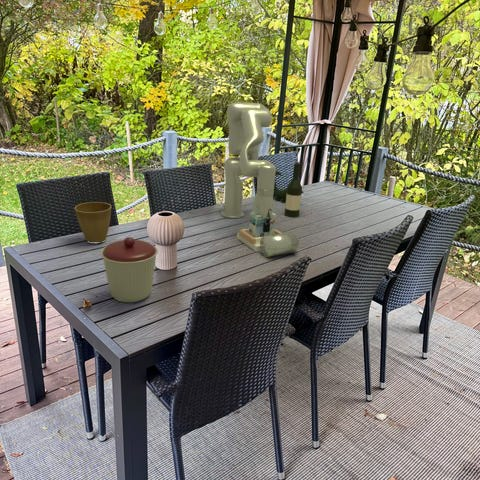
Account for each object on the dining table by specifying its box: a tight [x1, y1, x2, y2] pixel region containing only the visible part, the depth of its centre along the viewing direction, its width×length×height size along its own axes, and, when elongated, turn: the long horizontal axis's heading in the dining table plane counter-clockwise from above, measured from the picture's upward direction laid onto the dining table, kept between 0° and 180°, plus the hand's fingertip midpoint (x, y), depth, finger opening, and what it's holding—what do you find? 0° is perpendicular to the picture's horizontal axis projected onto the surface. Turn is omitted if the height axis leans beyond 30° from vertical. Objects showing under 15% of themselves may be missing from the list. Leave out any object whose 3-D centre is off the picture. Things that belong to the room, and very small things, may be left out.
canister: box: [100, 236, 159, 303], centre depth 140 cm, size 18×18×21 cm
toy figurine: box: [273, 170, 305, 203], centre depth 260 cm, size 9×19×25 cm
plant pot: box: [74, 201, 112, 242], centre depth 183 cm, size 15×15×16 cm
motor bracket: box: [236, 227, 299, 258], centre depth 191 cm, size 28×18×9 cm, turn 29°
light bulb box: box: [248, 211, 277, 238], centre depth 194 cm, size 11×7×11 cm, turn 118°
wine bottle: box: [284, 161, 303, 219], centre depth 232 cm, size 8×8×30 cm
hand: (261, 228), depth 194 cm, fingers closed on light bulb box, 6 cm apart
